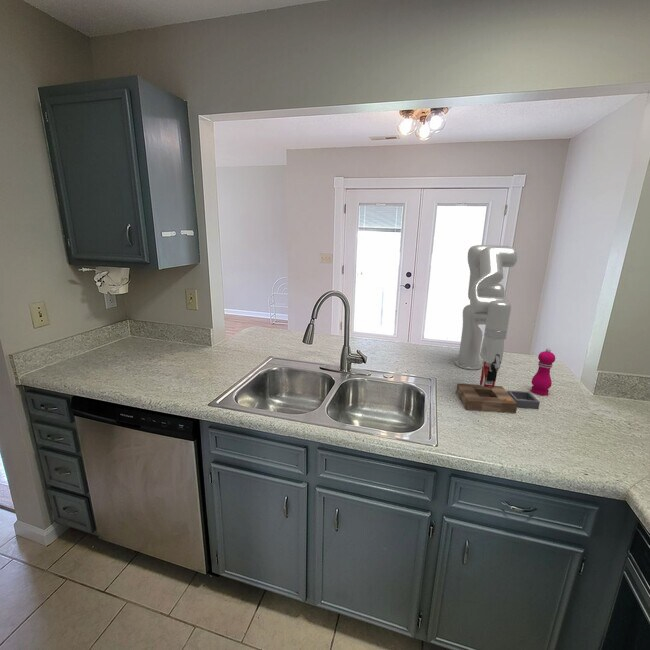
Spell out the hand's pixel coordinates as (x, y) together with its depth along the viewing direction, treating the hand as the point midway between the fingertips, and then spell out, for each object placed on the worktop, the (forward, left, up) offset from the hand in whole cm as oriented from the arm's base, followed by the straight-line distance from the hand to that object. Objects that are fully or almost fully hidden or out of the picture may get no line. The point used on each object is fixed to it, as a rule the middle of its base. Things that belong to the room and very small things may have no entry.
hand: (488, 377), depth 133 cm
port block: (0, 0, -11) cm, 11 cm away
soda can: (0, 0, -4) cm, 4 cm away
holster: (-2, +15, -11) cm, 19 cm away
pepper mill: (-13, +27, -11) cm, 32 cm away
